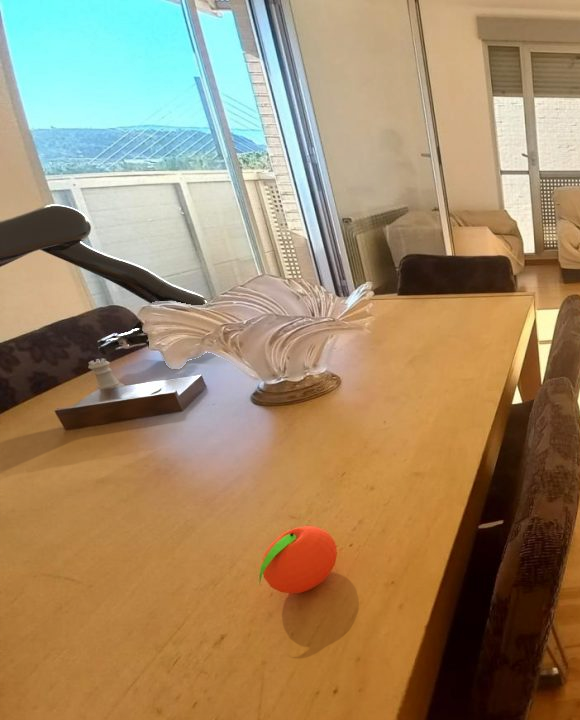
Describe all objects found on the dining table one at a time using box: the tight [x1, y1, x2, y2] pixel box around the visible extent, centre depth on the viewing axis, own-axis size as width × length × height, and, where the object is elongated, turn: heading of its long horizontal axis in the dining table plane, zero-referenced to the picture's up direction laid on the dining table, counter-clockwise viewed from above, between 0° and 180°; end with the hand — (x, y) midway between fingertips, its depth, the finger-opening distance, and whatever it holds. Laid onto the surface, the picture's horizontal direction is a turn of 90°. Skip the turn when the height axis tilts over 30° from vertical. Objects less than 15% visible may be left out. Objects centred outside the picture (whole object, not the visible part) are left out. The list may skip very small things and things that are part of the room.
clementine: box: [258, 525, 338, 595], centre depth 52 cm, size 8×7×7 cm
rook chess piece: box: [87, 358, 126, 390], centre depth 101 cm, size 4×4×8 cm
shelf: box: [54, 374, 208, 431], centre depth 96 cm, size 18×12×4 cm, turn 111°
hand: (126, 348), depth 109 cm, fingers open, 8 cm apart
